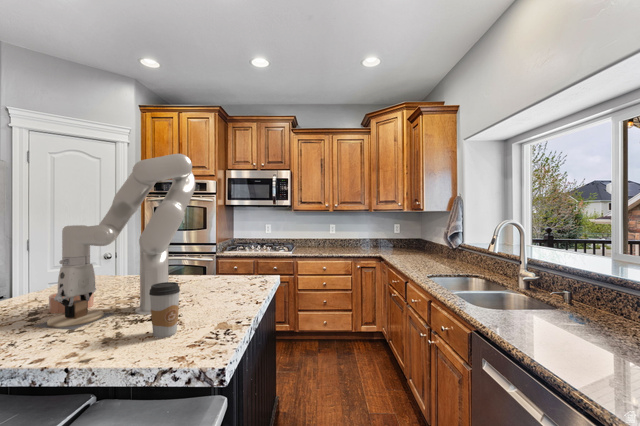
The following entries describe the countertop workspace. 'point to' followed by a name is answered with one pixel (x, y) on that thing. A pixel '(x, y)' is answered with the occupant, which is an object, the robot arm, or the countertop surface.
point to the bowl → (58, 307)
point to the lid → (76, 316)
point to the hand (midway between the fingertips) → (76, 314)
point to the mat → (44, 325)
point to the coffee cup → (164, 308)
